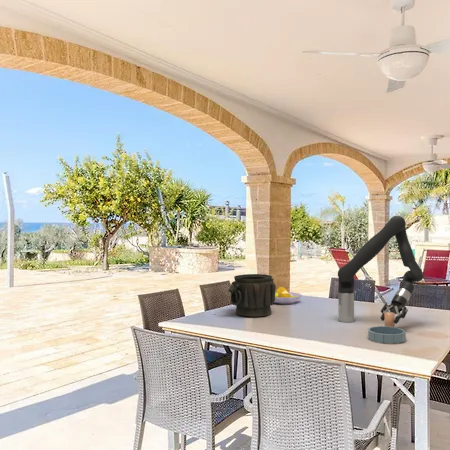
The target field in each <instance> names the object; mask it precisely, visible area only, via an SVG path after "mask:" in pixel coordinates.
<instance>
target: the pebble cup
mask: <svg viewBox="0 0 450 450" xmlns="http://www.w3.org/2000/svg"><path fill="white" fill-rule="evenodd" d="M395 315H396V314H394V312H390V311H389V312H384V317H385V319H384V326H389V327H396V326H395V325H396V324H395V323H394V320H395V318H396V316H395Z"/></svg>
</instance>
